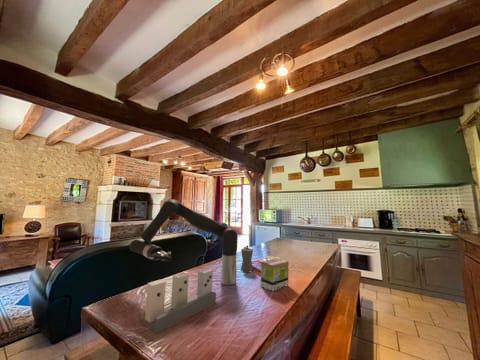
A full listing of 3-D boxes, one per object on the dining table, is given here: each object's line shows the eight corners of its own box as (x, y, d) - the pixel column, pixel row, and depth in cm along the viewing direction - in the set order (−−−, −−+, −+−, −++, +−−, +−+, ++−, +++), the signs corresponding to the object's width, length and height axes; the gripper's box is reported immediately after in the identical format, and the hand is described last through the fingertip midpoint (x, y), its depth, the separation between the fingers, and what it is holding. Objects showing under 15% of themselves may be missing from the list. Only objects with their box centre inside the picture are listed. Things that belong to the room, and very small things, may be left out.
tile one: (144, 318, 82) (147, 283, 84) (158, 313, 86) (160, 279, 88) (150, 323, 79) (152, 285, 81) (163, 316, 84) (166, 281, 85)
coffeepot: (255, 272, 145) (255, 247, 148) (242, 273, 143) (243, 247, 146) (249, 266, 160) (250, 243, 163) (238, 266, 158) (238, 243, 160)
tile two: (170, 307, 91) (172, 275, 93) (182, 303, 96) (183, 272, 97) (176, 311, 88) (178, 278, 90) (187, 306, 93) (189, 274, 95)
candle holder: (281, 274, 143) (281, 257, 144) (277, 278, 134) (277, 260, 136) (268, 272, 147) (268, 255, 149) (264, 276, 138) (264, 258, 140)
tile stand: (140, 320, 83) (141, 307, 84) (198, 295, 107) (199, 285, 107) (156, 333, 75) (157, 319, 75) (215, 303, 99) (216, 292, 99)
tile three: (196, 301, 98) (198, 271, 100) (206, 296, 103) (207, 268, 104) (202, 304, 95) (204, 273, 97) (212, 299, 100) (213, 270, 102)
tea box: (273, 292, 113) (273, 265, 115) (260, 286, 120) (260, 261, 122) (288, 285, 123) (288, 260, 124) (276, 281, 130) (276, 257, 132)
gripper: (162, 256, 120) (180, 263, 109) (140, 261, 109) (157, 270, 99) (163, 243, 120) (181, 250, 110) (142, 247, 110) (159, 254, 99)
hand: (170, 259), depth 104 cm, fingers closed
